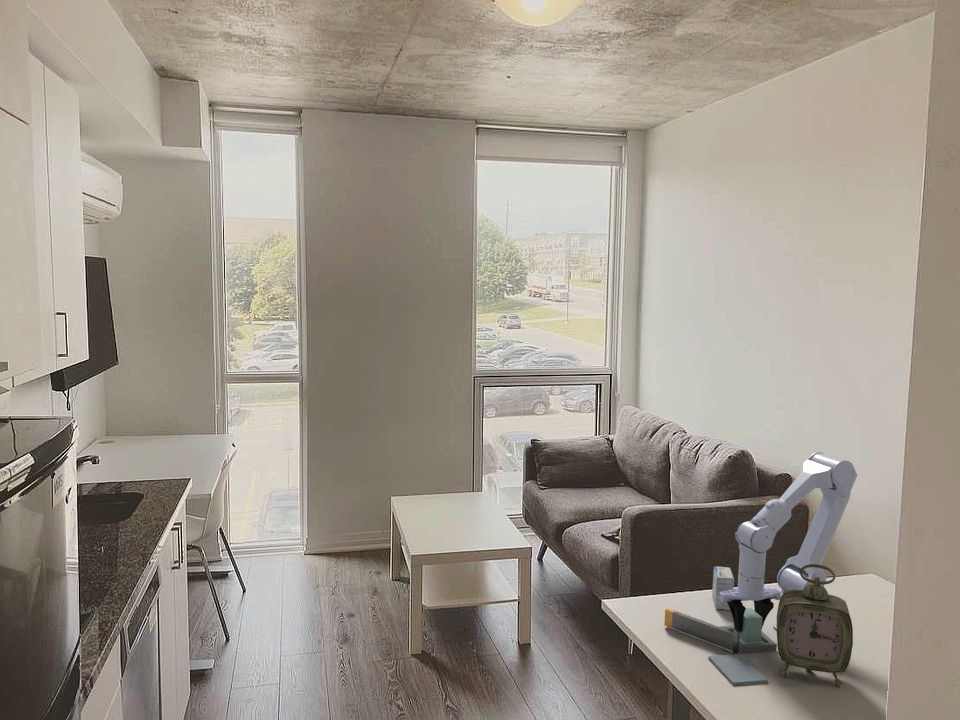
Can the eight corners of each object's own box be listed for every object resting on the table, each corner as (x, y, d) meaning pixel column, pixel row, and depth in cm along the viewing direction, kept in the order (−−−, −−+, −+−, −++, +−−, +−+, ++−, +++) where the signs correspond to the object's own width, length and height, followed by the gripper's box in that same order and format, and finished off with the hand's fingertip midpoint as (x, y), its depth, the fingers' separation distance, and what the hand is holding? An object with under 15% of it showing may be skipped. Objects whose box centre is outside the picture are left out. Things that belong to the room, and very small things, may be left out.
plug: (750, 634, 181) (752, 606, 180) (764, 647, 175) (766, 618, 174) (730, 636, 180) (732, 608, 179) (743, 648, 174) (745, 619, 173)
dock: (753, 630, 183) (754, 624, 183) (776, 650, 173) (776, 644, 173) (719, 632, 181) (719, 626, 181) (740, 653, 172) (740, 646, 171)
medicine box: (732, 611, 193) (734, 578, 192) (714, 609, 194) (716, 577, 193) (729, 598, 201) (730, 567, 200) (711, 596, 202) (713, 565, 201)
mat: (741, 656, 170) (741, 653, 170) (767, 682, 159) (767, 679, 159) (708, 658, 169) (708, 656, 169) (732, 685, 158) (732, 682, 158)
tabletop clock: (773, 678, 161) (781, 566, 158) (773, 659, 169) (780, 551, 166) (848, 693, 156) (858, 577, 153) (844, 672, 164) (853, 561, 162)
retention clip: (667, 624, 184) (668, 605, 184) (740, 652, 171) (741, 632, 171) (664, 626, 183) (665, 607, 183) (737, 654, 170) (738, 634, 170)
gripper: (770, 565, 181) (767, 620, 182) (714, 568, 178) (711, 623, 180) (787, 577, 174) (783, 633, 175) (729, 580, 171) (725, 637, 173)
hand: (747, 629), depth 177 cm, fingers open, 4 cm apart
